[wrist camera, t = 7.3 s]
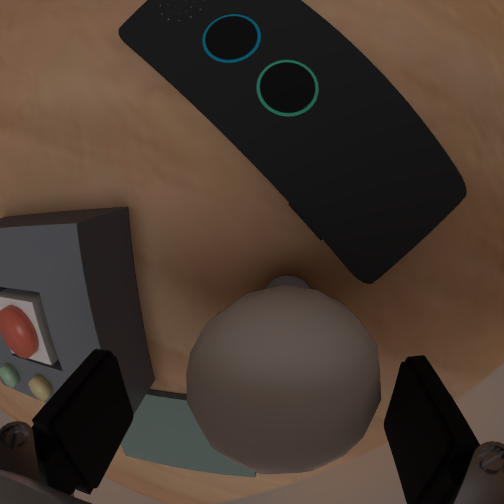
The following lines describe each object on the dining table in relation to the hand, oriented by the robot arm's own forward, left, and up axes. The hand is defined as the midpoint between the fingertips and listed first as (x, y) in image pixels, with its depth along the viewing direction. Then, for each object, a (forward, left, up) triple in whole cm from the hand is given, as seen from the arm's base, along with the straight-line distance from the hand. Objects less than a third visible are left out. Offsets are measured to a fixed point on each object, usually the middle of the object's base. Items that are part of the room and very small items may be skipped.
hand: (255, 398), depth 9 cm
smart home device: (-1, -11, -9) cm, 14 cm away
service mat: (+7, +13, -9) cm, 17 cm away
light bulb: (-1, 0, -9) cm, 9 cm away
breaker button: (+14, +1, -6) cm, 16 cm away
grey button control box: (+14, +1, -9) cm, 17 cm away
